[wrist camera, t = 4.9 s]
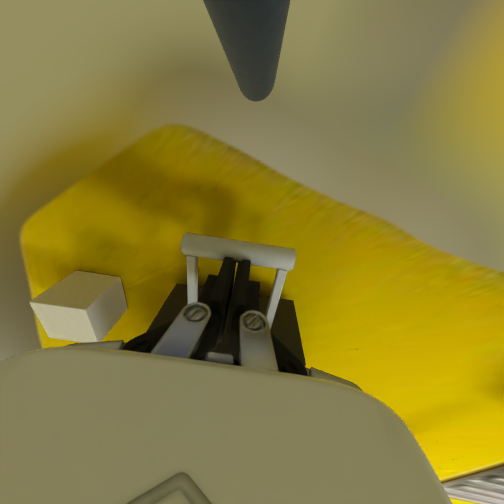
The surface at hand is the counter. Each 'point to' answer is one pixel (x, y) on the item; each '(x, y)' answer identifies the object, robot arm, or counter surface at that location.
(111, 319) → the block
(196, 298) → the dark grey drawer
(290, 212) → the counter surface
